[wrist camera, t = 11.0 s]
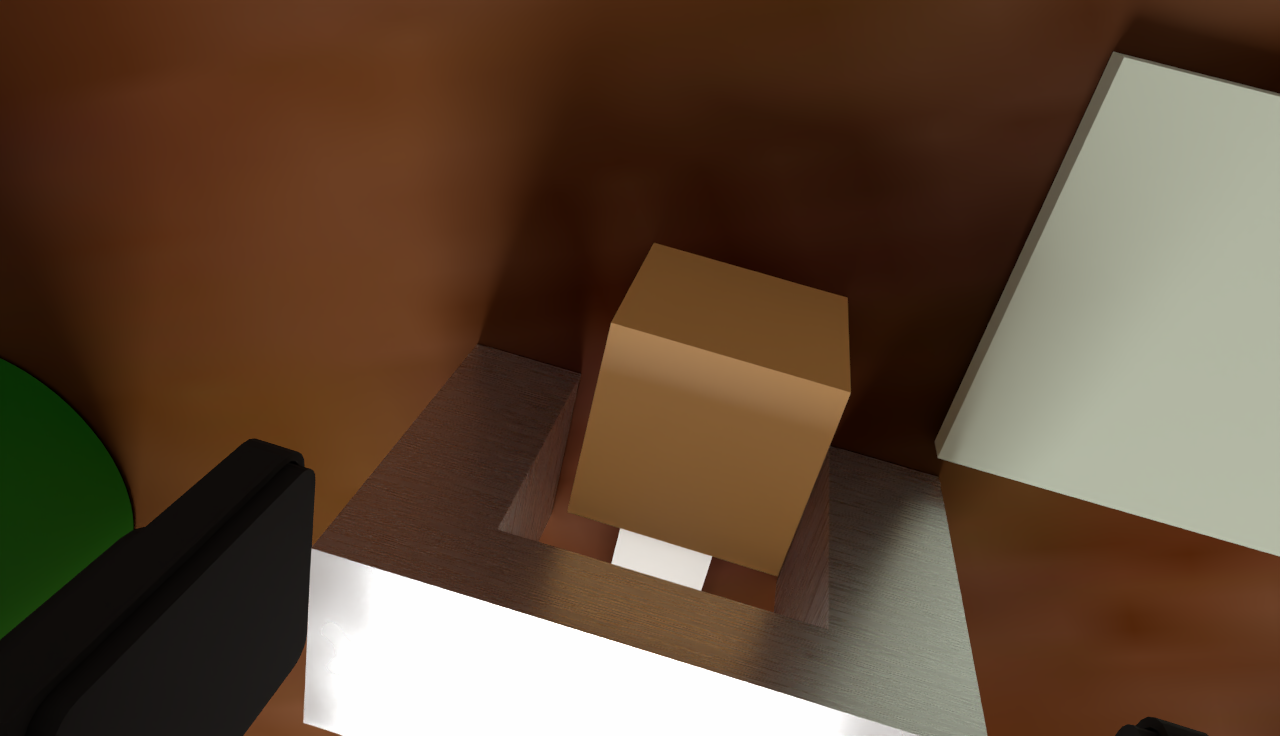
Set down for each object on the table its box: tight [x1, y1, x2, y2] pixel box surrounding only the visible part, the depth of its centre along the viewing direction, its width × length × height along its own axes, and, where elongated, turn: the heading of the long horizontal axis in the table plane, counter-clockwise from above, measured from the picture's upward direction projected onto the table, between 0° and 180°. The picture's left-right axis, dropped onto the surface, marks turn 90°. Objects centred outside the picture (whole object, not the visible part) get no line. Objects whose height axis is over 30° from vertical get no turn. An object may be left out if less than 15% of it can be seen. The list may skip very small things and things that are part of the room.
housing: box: [304, 344, 987, 736], centre depth 21 cm, size 5×13×9 cm, turn 78°
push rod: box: [611, 528, 712, 591], centre depth 27 cm, size 15×2×4 cm, turn 168°
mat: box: [934, 52, 1280, 556], centre depth 20 cm, size 10×10×1 cm
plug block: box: [567, 243, 851, 576], centre depth 21 cm, size 5×5×5 cm
